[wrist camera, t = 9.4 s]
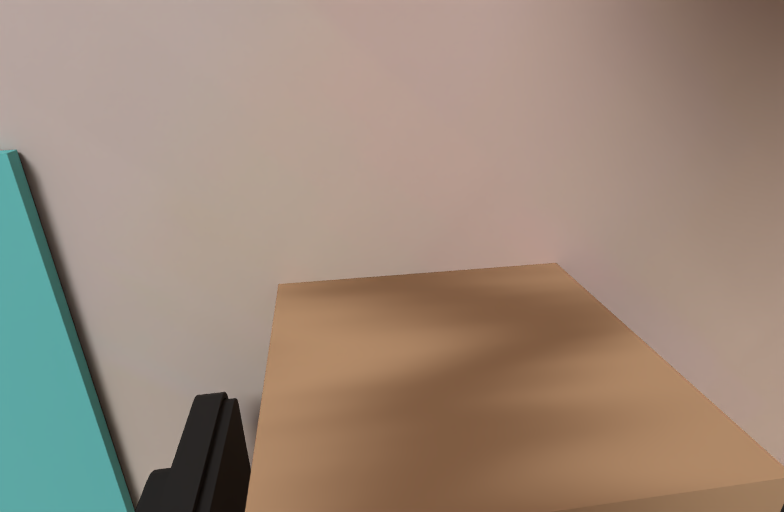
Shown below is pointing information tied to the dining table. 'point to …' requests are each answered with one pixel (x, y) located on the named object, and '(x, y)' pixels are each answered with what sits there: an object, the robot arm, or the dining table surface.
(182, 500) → the robot arm
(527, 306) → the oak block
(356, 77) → the dining table surface
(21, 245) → the teal mat
